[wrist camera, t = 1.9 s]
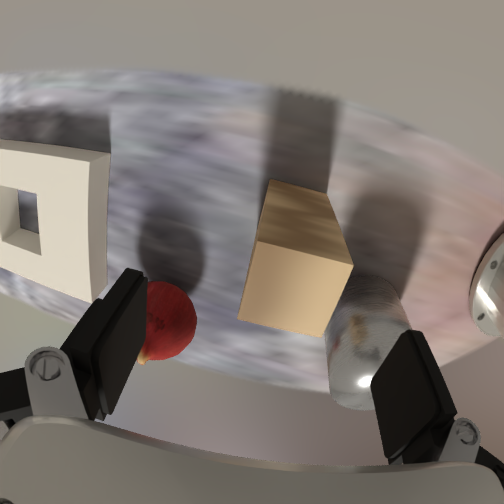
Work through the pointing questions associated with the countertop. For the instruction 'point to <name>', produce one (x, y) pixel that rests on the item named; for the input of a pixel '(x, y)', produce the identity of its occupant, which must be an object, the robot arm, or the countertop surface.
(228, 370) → the countertop surface
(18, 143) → the socket block
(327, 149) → the countertop surface
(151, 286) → the onion
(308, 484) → the robot arm
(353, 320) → the round peg
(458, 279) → the countertop surface
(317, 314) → the square peg
